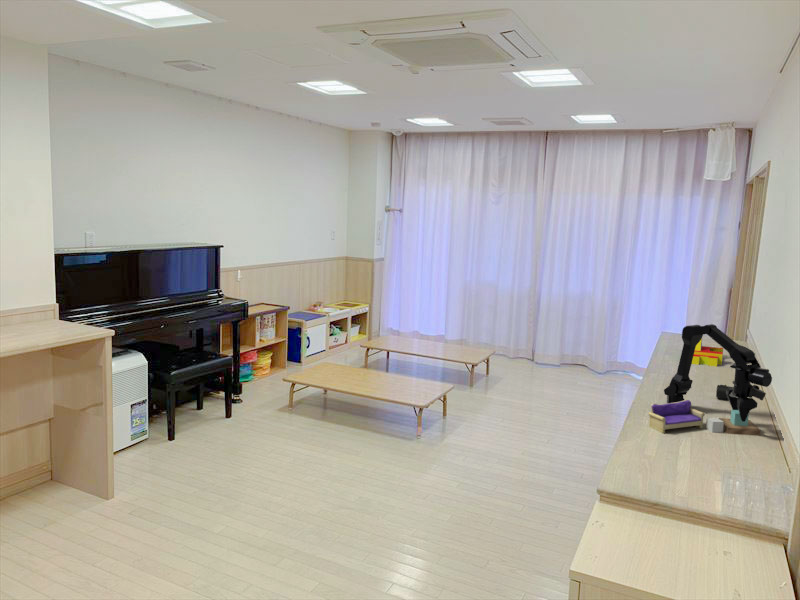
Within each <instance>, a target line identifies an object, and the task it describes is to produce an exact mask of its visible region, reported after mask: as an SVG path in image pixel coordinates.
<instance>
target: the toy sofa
mask: <svg viewBox="0 0 800 600" xmlns="http://www.w3.org/2000/svg"><path fill="white" fill-rule="evenodd" d="M650 406H651V408H650V409H651V411H649V412H648V416H649V423H648V424H649V425H648V427H649V428H651V429H652V430H655V431H656V432H659V433H661V434H665V433H666V430H673V429H679V428H687V427H689V428H690V427H694V426H695V427H697V428H698V429H703V426H704V425H703V423H704V417H705V413H704V412H702V411H700V410H697V409H695V408H692V402H691V400H690V399H685V400H683V401H680V402H675V403H667V402H666V403H662V404H658V403H651V405H650Z"/></svg>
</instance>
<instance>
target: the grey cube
mask: <svg viewBox="0 0 800 600" xmlns="http://www.w3.org/2000/svg"><path fill="white" fill-rule="evenodd" d="M723 424H724V422H723V421H722V420H720V419H719V418H717V417H714V418H713V417H709V418H708V417H707V418H706V425H705V429H706V430H707V431H709V432H711V433H724V429H723Z"/></svg>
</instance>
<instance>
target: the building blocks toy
mask: <svg viewBox="0 0 800 600" xmlns="http://www.w3.org/2000/svg"><path fill="white" fill-rule="evenodd" d="M723 355H724V348H723V347H714V346H713V347H712V346H704V345H703V337H702V338H701V340H700V342H699V343H698V344H697V345H696V347H695V351H694V355H693V360H692V364H691V365H697V366H698V365H707V366H708V367H718V366H719V365H720V366H722V365H723V358H724V356H723Z"/></svg>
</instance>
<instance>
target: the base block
mask: <svg viewBox="0 0 800 600" xmlns="http://www.w3.org/2000/svg"><path fill="white" fill-rule="evenodd" d="M718 419H720V420H722V421H723V422H724V424H723V432H725V433H726V434H729V435H744V436H756V437H757V436H758V437H760V436H761V429H760V428H759V427H758V426H757V425H756V424H755V423H754V422H752V421H751V419H748V426H735V425H733V424H732V423H731V422H730V419H731V418H723V417H722V418H721V417H719V418H718Z"/></svg>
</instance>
